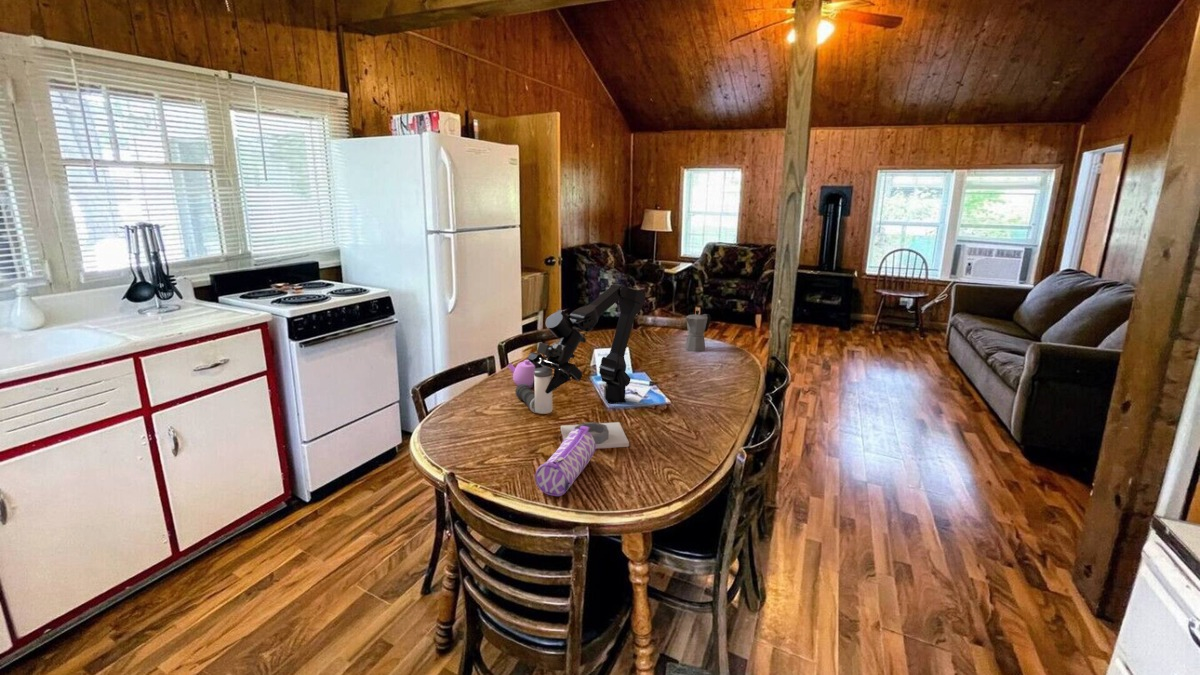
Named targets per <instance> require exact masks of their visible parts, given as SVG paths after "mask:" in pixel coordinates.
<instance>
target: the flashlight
mask: <svg viewBox="0 0 1200 675" xmlns="http://www.w3.org/2000/svg"><path fill="white" fill-rule="evenodd" d="M514 392H515V396H516V397H517V398H518V399H519V400H521V401H523V402H524V404H525V406H527V408H528V409H529V410H530V411H531V412H533V413H535V414H538V413H537V412H535V391H533V390H532V388H530V387H529V386H527V385H525V384H521V385H519V386H516V388H515V391H514Z"/></svg>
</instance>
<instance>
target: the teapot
mask: <svg viewBox="0 0 1200 675" xmlns="http://www.w3.org/2000/svg"><path fill="white" fill-rule="evenodd" d="M507 367H508V368H509V369H510V371H511V372H512V373H513V374H512V380H513V382H514V384H516V387H518V386H519V385H521V384H525V385H527V386H529V387H530V388H531V389H533V387H532V386H533V382H534V369H535V366H534V365H533V364H532V363H531V362H530V361H529V360H528V359H524V360H523V361H521V362H519V363H517V365H516V367H515V366H514V365H513V363H511V362H510V363H508V364H507Z"/></svg>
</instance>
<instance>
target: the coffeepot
mask: <svg viewBox="0 0 1200 675" xmlns="http://www.w3.org/2000/svg"><path fill="white" fill-rule="evenodd" d="M699 313H700V310H695V314H688V315H686V318H685V321H686V327H687V331H688V334H687V337H686V341H685V345H684V348H685V350H686V351H689V352H692V353H693V352H695V353H698V352H699V353H700V352H704V351H706V342H705V335H704V333H705V332H707V331H708V329H709V326H710V323H711V321H712V316H711V315H710V314H709V313H704V314H699Z"/></svg>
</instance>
